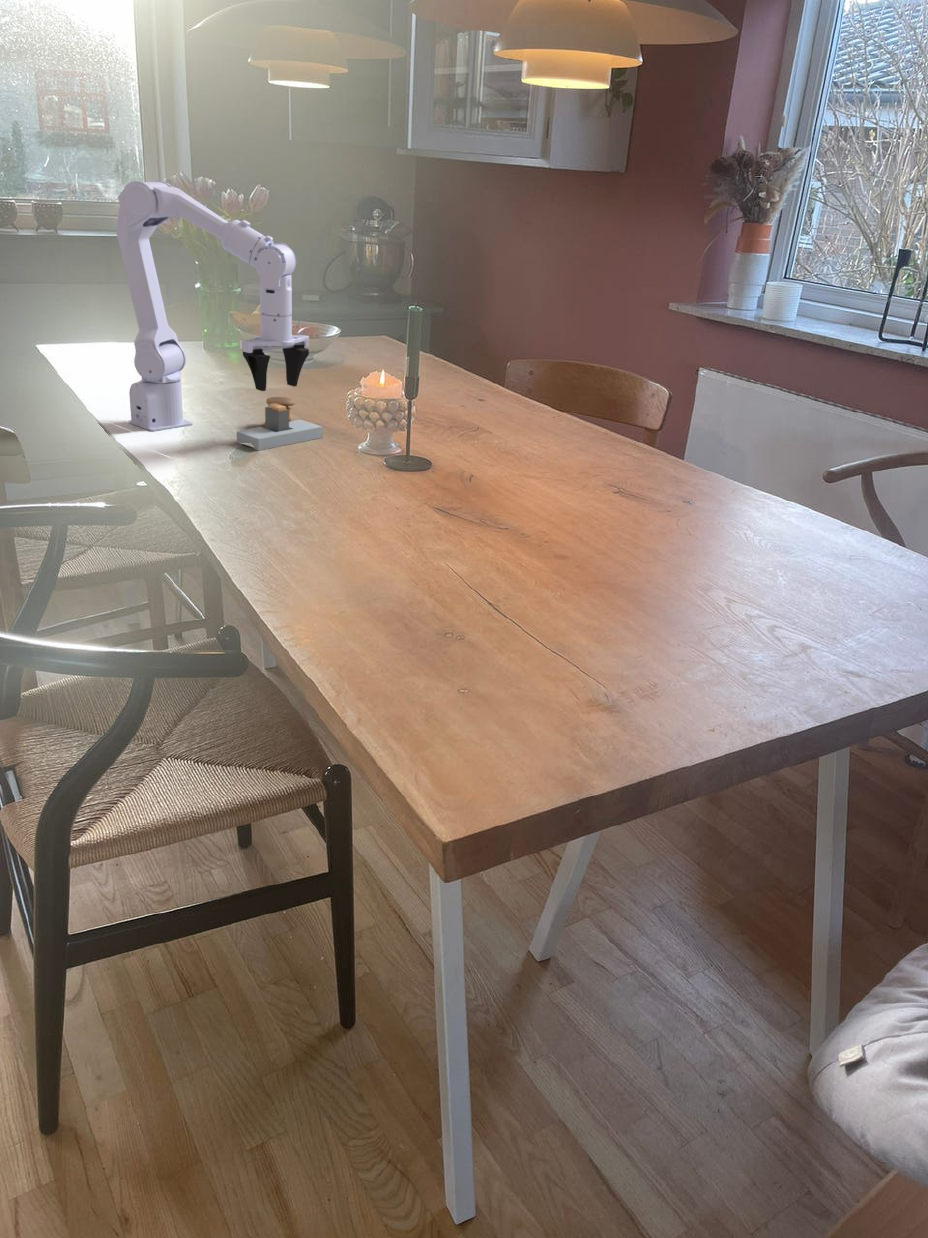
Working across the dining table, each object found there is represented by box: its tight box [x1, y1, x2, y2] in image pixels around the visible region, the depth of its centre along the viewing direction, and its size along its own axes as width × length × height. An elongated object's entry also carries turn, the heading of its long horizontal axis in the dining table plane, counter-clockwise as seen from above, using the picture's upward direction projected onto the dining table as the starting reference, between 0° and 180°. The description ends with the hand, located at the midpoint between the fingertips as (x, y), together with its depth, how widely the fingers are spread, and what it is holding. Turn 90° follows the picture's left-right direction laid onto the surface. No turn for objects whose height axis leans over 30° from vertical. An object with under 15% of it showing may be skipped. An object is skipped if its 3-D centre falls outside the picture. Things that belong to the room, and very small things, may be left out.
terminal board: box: [236, 419, 324, 452], centre depth 183 cm, size 16×6×2 cm, turn 140°
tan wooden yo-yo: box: [265, 396, 296, 422], centre depth 192 cm, size 6×6×5 cm
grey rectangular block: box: [264, 403, 289, 432], centre depth 183 cm, size 2×4×7 cm, turn 50°
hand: (276, 387), depth 181 cm, fingers open, 7 cm apart
